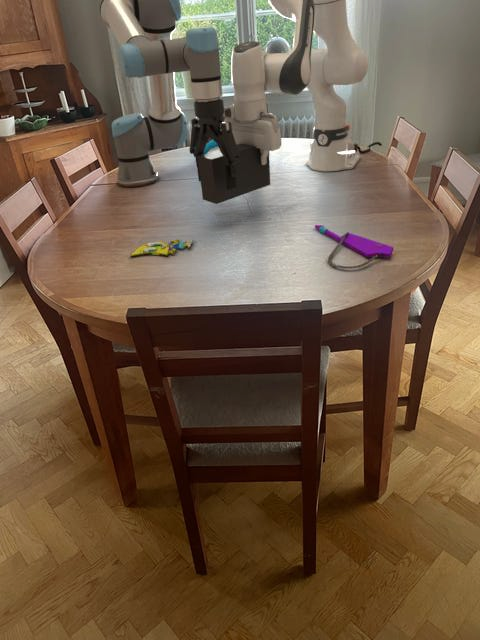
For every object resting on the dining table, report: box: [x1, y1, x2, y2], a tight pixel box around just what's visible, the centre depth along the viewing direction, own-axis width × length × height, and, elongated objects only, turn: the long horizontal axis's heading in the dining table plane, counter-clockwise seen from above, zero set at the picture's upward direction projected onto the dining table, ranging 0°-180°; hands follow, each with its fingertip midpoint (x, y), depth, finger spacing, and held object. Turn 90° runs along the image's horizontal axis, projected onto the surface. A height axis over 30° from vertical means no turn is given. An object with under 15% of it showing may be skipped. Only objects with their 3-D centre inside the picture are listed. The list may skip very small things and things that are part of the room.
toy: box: [130, 238, 194, 258], centre depth 128 cm, size 10×1×15 cm
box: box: [197, 144, 271, 205], centre depth 135 cm, size 20×6×12 cm, turn 131°
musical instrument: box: [314, 224, 394, 269], centre depth 119 cm, size 24×2×20 cm
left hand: (217, 184), depth 133 cm, fingers open, 12 cm apart
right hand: (253, 162), depth 139 cm, fingers closed on box, 6 cm apart
